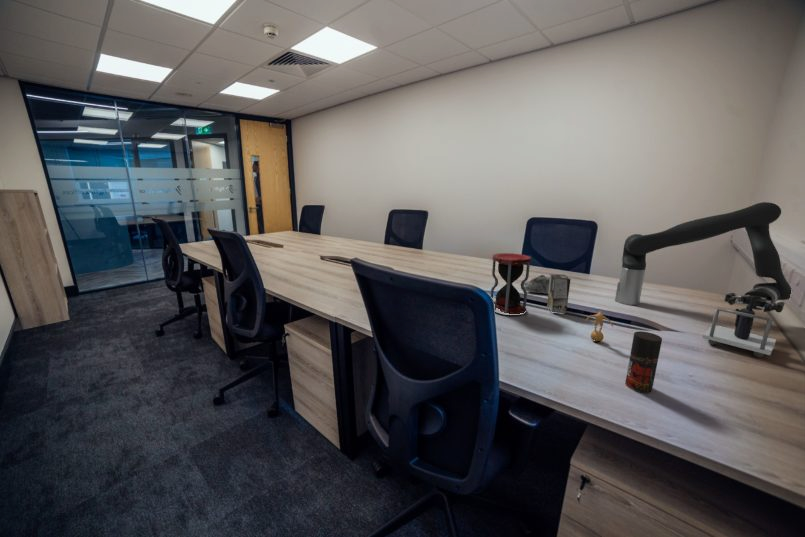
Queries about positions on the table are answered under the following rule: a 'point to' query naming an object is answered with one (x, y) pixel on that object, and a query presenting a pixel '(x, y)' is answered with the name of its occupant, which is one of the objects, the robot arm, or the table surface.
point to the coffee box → (558, 293)
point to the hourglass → (510, 282)
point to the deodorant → (643, 361)
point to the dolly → (727, 336)
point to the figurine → (596, 334)
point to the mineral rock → (538, 285)
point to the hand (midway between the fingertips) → (747, 305)
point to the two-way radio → (744, 321)
